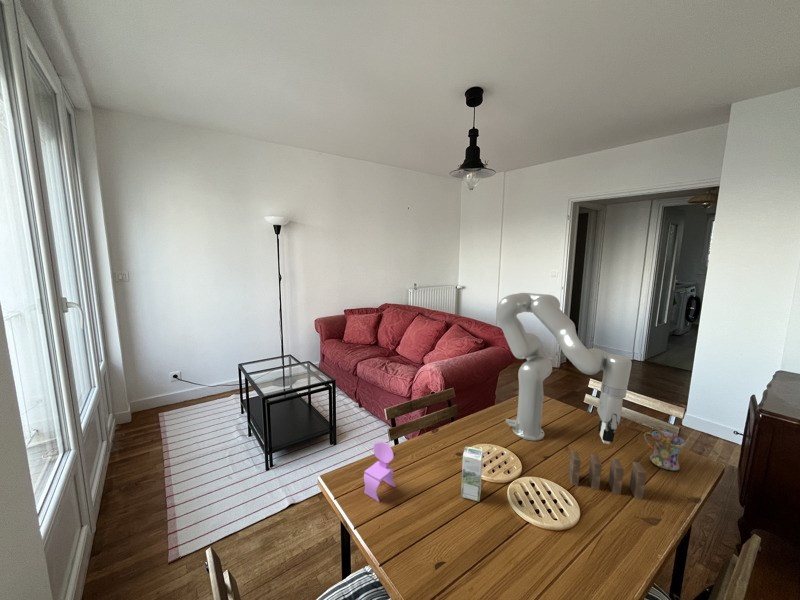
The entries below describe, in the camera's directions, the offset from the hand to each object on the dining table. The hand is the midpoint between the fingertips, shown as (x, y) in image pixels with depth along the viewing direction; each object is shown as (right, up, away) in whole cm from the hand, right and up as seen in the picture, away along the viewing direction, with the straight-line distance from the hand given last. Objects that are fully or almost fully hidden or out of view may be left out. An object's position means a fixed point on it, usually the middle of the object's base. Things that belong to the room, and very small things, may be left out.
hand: (605, 435), depth 118 cm
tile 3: (-10, -12, -10) cm, 19 cm away
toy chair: (-81, -12, -14) cm, 83 cm away
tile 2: (-5, -12, -12) cm, 18 cm away
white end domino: (0, -1, 0) cm, 2 cm away
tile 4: (-16, -11, -8) cm, 21 cm away
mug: (+21, -11, +1) cm, 24 cm away
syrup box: (-52, -12, -15) cm, 56 cm away
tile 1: (+1, -12, -14) cm, 19 cm away
